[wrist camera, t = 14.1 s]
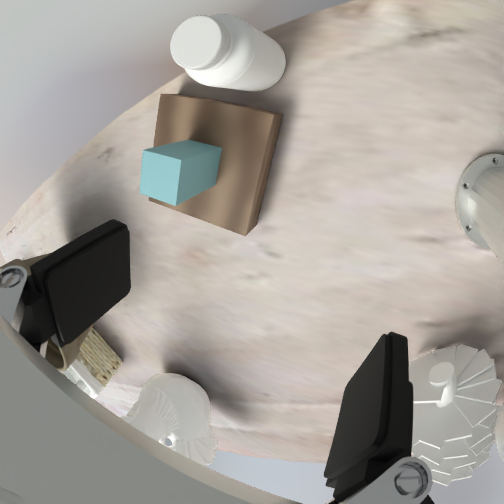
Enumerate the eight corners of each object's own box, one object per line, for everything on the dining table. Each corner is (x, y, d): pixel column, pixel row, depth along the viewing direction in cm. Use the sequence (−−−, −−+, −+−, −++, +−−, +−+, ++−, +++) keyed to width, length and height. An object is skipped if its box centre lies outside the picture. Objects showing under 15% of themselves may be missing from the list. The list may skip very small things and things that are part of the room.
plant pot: (143, 279, 57) (66, 345, 39) (118, 333, 70) (64, 386, 52) (69, 203, 57) (-10, 243, 39) (58, 269, 70) (1, 309, 52)
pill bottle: (231, 36, 32) (162, 8, 19) (290, 37, 30) (244, -2, 17) (225, 90, 36) (154, 85, 23) (283, 95, 33) (234, 85, 21)
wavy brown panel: (282, 114, 35) (273, 114, 31) (255, 225, 43) (245, 236, 39) (177, 93, 38) (160, 93, 35) (164, 193, 46) (148, 200, 43)
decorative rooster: (148, 363, 71) (91, 429, 50) (188, 359, 63) (125, 441, 42) (201, 423, 77) (160, 487, 56) (243, 425, 69) (202, 501, 48)
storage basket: (92, 321, 74) (57, 351, 62) (129, 364, 76) (99, 398, 64) (74, 341, 87) (46, 366, 75) (104, 376, 89) (79, 402, 77)
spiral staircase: (456, 314, 41) (471, 400, 44) (371, 373, 42) (404, 446, 46) (525, 363, 23) (514, 448, 26) (416, 450, 24) (435, 506, 28)
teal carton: (222, 147, 35) (181, 159, 28) (215, 185, 38) (175, 206, 30) (188, 139, 36) (143, 150, 29) (183, 175, 39) (139, 193, 31)
